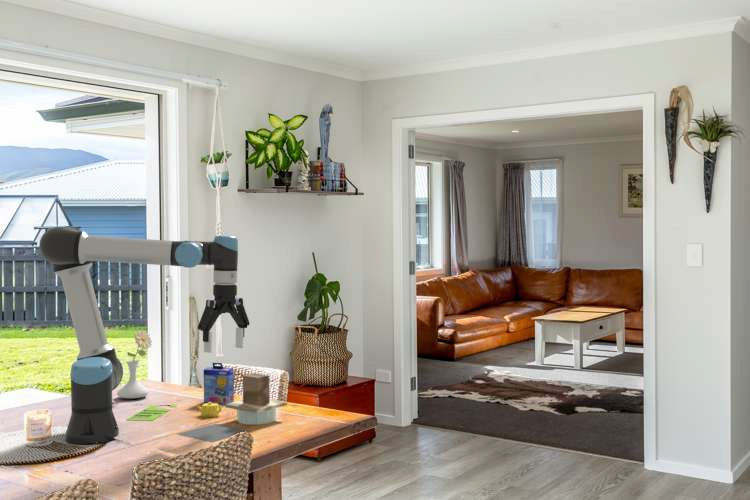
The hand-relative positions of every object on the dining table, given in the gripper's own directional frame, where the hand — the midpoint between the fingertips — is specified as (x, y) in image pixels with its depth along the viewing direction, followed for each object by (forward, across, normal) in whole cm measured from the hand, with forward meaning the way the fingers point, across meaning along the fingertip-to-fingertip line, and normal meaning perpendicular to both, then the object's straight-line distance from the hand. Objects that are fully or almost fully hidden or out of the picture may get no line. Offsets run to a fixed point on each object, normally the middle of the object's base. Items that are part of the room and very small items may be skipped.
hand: (223, 350), depth 264 cm
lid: (+18, +7, -8) cm, 21 cm away
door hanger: (+25, -2, +31) cm, 40 cm away
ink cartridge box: (+24, +22, +25) cm, 41 cm away
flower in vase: (+25, +9, +56) cm, 62 cm away
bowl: (+23, +8, -8) cm, 26 cm away
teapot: (+24, +3, +9) cm, 26 cm away
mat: (+24, -11, -9) cm, 28 cm away
